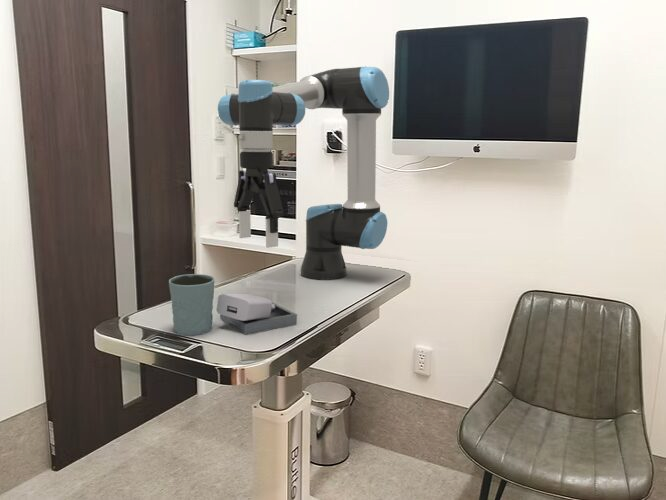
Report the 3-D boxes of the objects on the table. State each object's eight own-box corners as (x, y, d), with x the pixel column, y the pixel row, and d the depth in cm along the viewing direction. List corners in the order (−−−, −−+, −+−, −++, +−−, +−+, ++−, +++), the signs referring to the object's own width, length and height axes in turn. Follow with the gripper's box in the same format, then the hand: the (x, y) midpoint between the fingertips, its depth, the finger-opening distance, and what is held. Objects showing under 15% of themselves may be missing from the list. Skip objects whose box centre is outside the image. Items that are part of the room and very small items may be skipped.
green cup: (207, 320, 135) (205, 272, 132) (222, 332, 126) (221, 281, 124) (165, 326, 129) (163, 277, 127) (178, 340, 121) (176, 286, 119)
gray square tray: (269, 310, 143) (269, 300, 143) (296, 324, 133) (296, 314, 132) (220, 318, 136) (220, 309, 135) (245, 334, 125) (245, 324, 124)
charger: (284, 318, 137) (246, 322, 124) (255, 310, 142) (215, 313, 129) (287, 299, 137) (249, 301, 124) (258, 291, 142) (218, 293, 129)
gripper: (218, 149, 134) (221, 235, 139) (268, 152, 114) (269, 252, 119) (246, 149, 138) (248, 232, 143) (299, 152, 119) (299, 249, 123)
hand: (258, 242), depth 131 cm, fingers open, 13 cm apart
